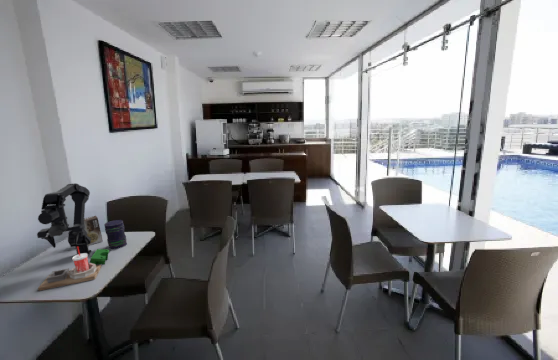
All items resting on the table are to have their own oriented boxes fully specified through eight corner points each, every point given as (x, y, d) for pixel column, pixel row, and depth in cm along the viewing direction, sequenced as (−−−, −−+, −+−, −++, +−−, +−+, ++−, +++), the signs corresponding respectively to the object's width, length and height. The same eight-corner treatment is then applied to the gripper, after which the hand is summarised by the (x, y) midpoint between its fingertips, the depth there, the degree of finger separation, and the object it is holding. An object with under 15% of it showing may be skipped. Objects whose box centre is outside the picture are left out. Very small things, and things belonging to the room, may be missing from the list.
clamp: (103, 272, 144) (102, 261, 140) (90, 272, 142) (89, 261, 138) (110, 255, 154) (109, 244, 150) (97, 254, 152) (97, 243, 148)
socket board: (50, 277, 134) (48, 269, 134) (101, 267, 142) (99, 260, 141) (38, 290, 123) (36, 283, 122) (94, 279, 130) (93, 271, 130)
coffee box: (101, 238, 179) (96, 215, 175) (103, 241, 174) (98, 217, 170) (84, 243, 173) (79, 219, 169) (86, 246, 168) (80, 221, 164)
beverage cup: (82, 276, 130) (76, 249, 127) (72, 275, 132) (66, 249, 129) (94, 270, 136) (88, 244, 133) (84, 268, 138) (78, 243, 135)
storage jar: (124, 240, 173) (120, 218, 170) (129, 245, 166) (125, 222, 163) (106, 246, 166) (101, 223, 163) (111, 251, 160) (106, 227, 156)
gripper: (27, 225, 127) (35, 256, 131) (74, 219, 133) (81, 248, 137) (39, 218, 138) (46, 246, 141) (82, 212, 144) (88, 240, 147)
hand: (65, 245), depth 141 cm, fingers open, 9 cm apart
